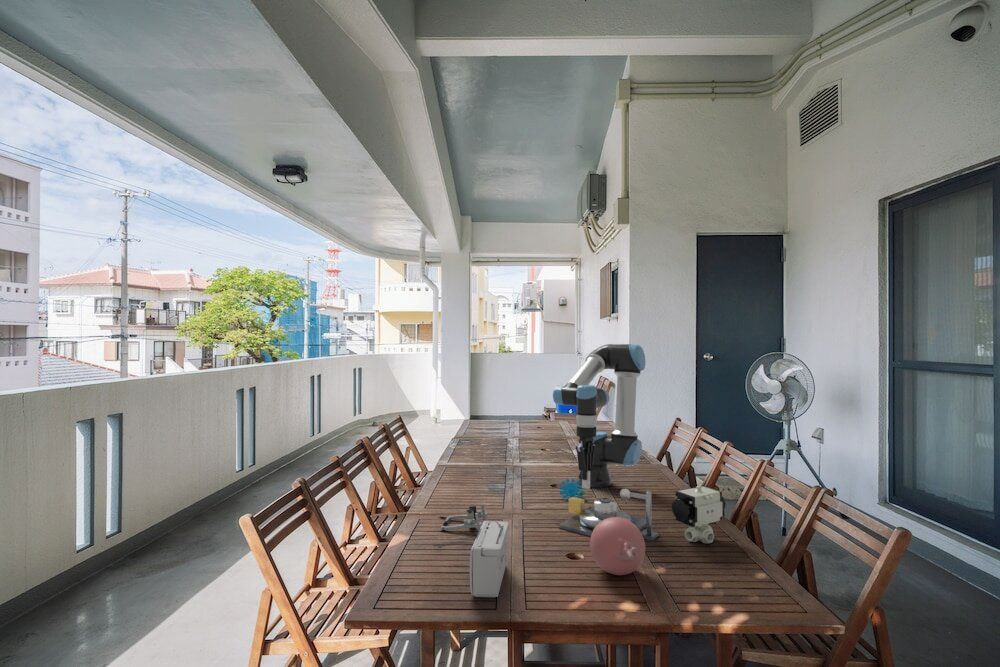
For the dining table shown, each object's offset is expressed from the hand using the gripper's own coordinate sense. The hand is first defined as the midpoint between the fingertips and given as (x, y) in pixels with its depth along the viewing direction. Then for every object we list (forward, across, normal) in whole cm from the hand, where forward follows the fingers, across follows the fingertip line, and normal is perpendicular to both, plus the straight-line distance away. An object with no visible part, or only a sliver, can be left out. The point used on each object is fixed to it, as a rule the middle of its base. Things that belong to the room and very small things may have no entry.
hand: (586, 487), depth 193 cm
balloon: (+11, +40, +31) cm, 51 cm away
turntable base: (+10, +6, +11) cm, 16 cm away
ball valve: (+10, 0, +42) cm, 43 cm away
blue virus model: (+10, -13, -13) cm, 21 cm away
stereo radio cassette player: (+11, +64, +4) cm, 65 cm away
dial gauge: (+10, +6, +23) cm, 26 cm away
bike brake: (+11, +38, -31) cm, 50 cm away
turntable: (+9, +7, +9) cm, 14 cm away
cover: (+7, +6, +11) cm, 14 cm away
